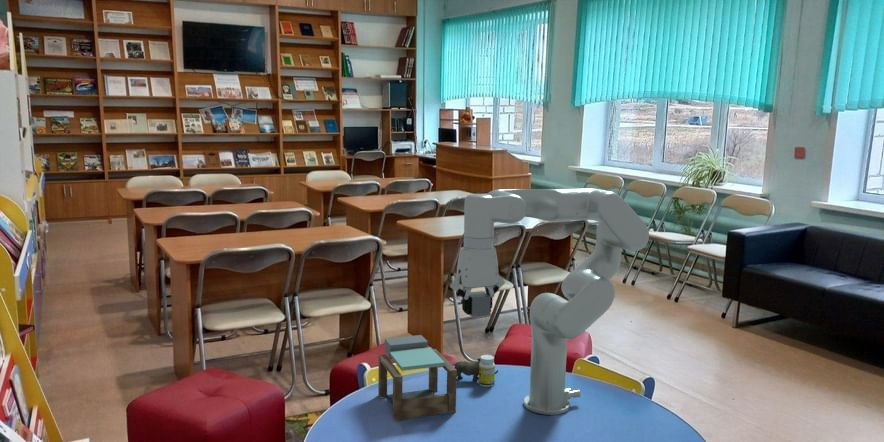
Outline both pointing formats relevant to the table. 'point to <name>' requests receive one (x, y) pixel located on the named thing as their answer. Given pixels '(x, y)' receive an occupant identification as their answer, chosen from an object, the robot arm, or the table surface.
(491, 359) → the supplement bottle
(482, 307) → the block
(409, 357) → the grey and green slab
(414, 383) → the table surface
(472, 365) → the rhino figurine
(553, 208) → the robot arm
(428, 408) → the frame
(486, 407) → the table surface
